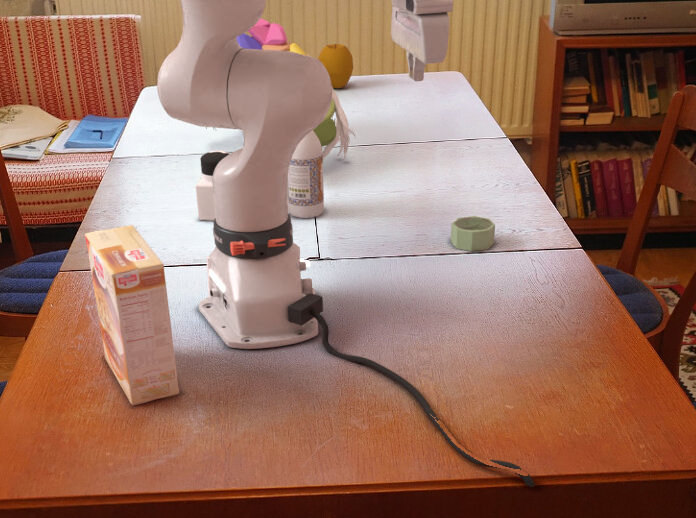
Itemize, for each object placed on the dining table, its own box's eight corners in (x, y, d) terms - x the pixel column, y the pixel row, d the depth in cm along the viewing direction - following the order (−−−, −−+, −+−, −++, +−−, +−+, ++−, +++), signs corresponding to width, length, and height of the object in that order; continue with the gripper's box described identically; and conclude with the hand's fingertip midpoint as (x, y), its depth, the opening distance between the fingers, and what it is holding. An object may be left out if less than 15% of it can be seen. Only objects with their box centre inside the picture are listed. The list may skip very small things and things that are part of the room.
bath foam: (325, 218, 185) (322, 112, 174) (288, 219, 184) (284, 114, 174) (322, 205, 190) (320, 102, 180) (287, 206, 190) (283, 104, 180)
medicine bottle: (234, 222, 185) (229, 160, 178) (198, 220, 186) (192, 159, 180) (243, 208, 191) (239, 148, 184) (208, 207, 192) (203, 147, 186)
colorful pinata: (336, 98, 189) (249, -16, 202) (232, 200, 199) (154, 85, 211) (398, 149, 217) (318, 45, 230) (304, 236, 227) (232, 132, 239)
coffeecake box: (103, 357, 142) (82, 232, 131) (150, 347, 144) (134, 223, 134) (130, 407, 130) (110, 273, 119) (181, 394, 132) (165, 262, 122)
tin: (483, 233, 175) (498, 248, 170) (446, 237, 174) (460, 252, 168) (484, 214, 173) (499, 228, 168) (447, 218, 172) (461, 233, 167)
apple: (315, 92, 262) (314, 47, 256) (320, 83, 270) (319, 39, 264) (351, 92, 260) (350, 47, 254) (355, 83, 268) (355, 39, 262)
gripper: (382, -15, 168) (381, 67, 176) (418, 5, 151) (416, 95, 158) (417, -18, 169) (415, 64, 176) (457, 2, 152) (452, 91, 159)
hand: (416, 79), depth 167 cm, fingers closed
